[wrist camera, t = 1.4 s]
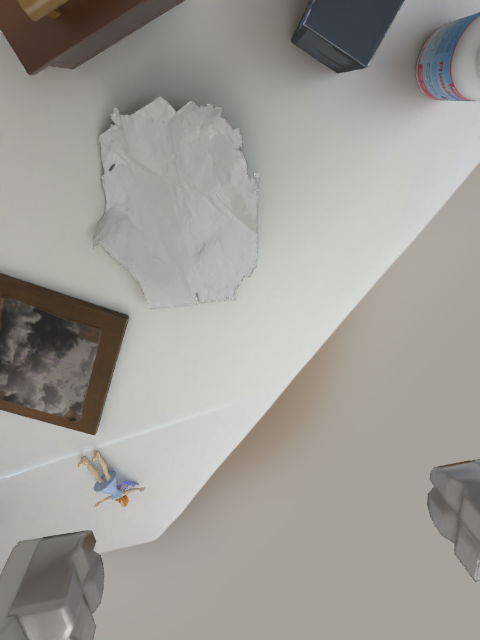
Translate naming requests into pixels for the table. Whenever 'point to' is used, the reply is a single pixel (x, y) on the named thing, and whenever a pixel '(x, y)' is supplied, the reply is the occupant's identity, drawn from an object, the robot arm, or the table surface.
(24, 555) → the robot arm
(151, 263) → the paper
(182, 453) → the table surface
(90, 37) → the chest lid
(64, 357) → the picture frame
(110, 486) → the fairy figurine
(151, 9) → the chest
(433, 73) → the pill bottle
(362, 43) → the box
